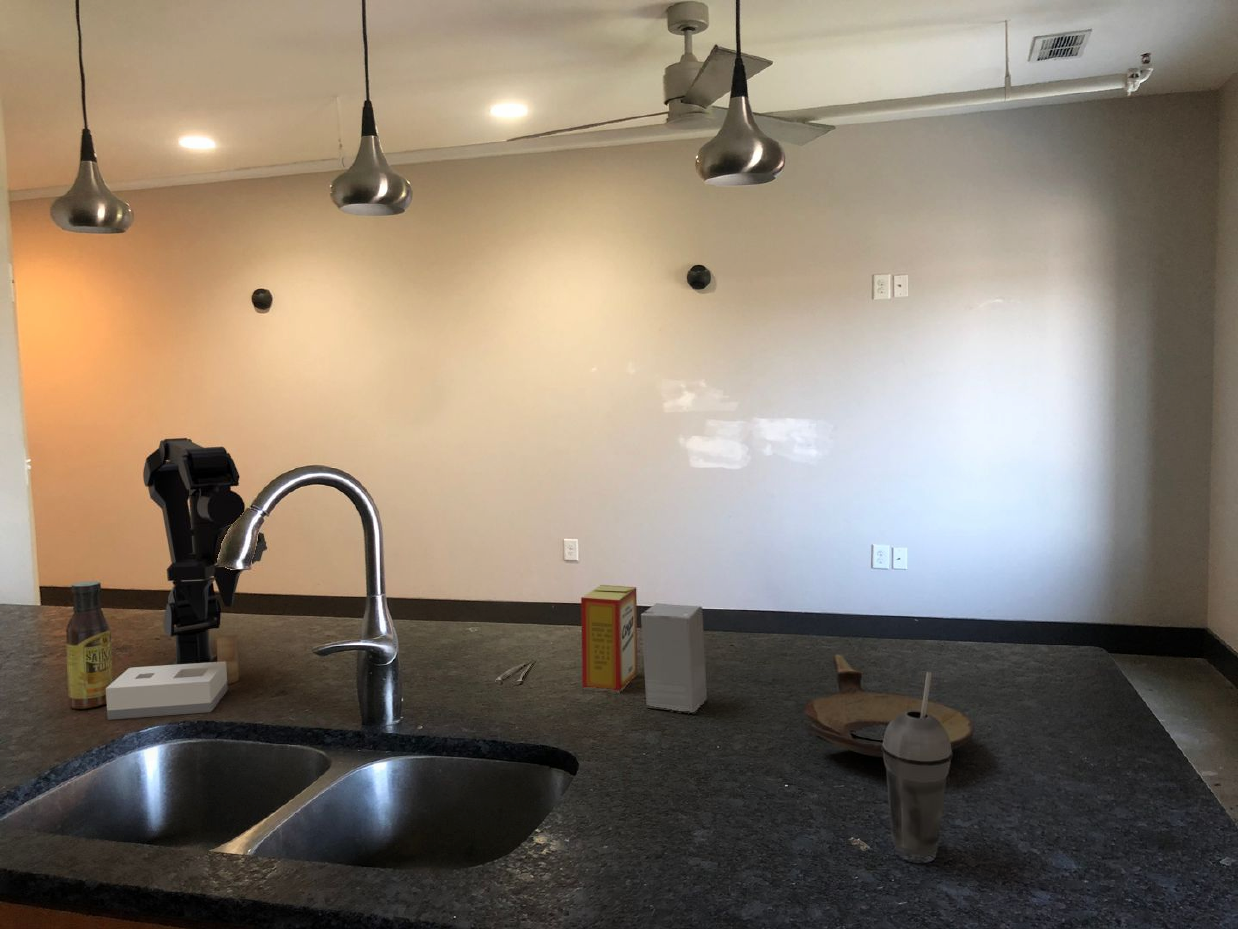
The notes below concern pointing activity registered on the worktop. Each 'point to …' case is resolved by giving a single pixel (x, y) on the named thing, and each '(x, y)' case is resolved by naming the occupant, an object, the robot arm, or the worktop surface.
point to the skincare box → (674, 657)
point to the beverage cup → (916, 777)
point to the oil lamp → (873, 713)
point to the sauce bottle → (88, 648)
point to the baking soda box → (609, 636)
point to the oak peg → (228, 655)
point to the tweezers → (513, 670)
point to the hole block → (166, 690)
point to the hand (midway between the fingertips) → (216, 612)
